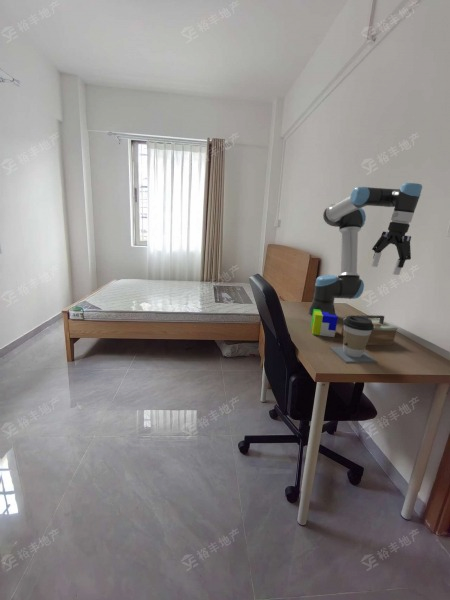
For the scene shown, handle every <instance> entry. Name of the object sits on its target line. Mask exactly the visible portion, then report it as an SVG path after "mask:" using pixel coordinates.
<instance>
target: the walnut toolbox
mask: <svg viewBox="0 0 450 600" xmlns="http://www.w3.org/2000/svg"><path fill="white" fill-rule="evenodd" d="M356 316H361V317H365V318H368V319H370V320H371V321H372V324H373V325H374V329H373V330H372V331H371V334H370V336H369V339H368V342H367V345H368V346H369V345H370V346H371V345H383V346H385V345H387V346H388V345H392V346H393V345H394V342H395V337H396V333H397V330H398V328H397V327H396V326H394V325H392V324H390V323H388V322H385V315H378V314H377V315H374V314H373V315H371V314H370V315H369V314H368V315H367V314H364V315H363V314H362V315H361V314H358V315H357V314H356ZM346 318H347V317H345V318H344V317H343V318H342V320H343V321H344V319H346ZM343 321H342V322H343ZM340 334H341V335H342V336H343V335H344V324H343V323H342V326H341V332H340ZM367 345H366V346H367Z"/></svg>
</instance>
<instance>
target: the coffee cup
mask: <svg viewBox="0 0 450 600" xmlns="http://www.w3.org/2000/svg"><path fill="white" fill-rule="evenodd" d="M345 318H346V319H344V321H342V325H343V324H344V335H343V334H342V336H343V338H342V339H343V340H342V347H343V352H344V354H346V355H348V356H350V357H356V358H359V357H361V356H362V355H363V353H364V352H365V349H366V347H367V342H368V339H369V336H370V334H371V331H372V330H373V329H374V325H373V324H372V321H371V320H370V319H371V318H365V317H361V316H357V315H351V314H350V315H347V316H346V317H345Z"/></svg>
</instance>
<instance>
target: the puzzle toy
mask: <svg viewBox="0 0 450 600" xmlns="http://www.w3.org/2000/svg"><path fill="white" fill-rule="evenodd" d="M311 316H312V317H311V323H310V330H311V333H312V335H314V336H321V337H332V338H335V337H336V336H335V335H336V332H337V325H338V320H339V319H338V315H337V314H336V311H335V312H334V311H327V310H318V309H313V315H311Z"/></svg>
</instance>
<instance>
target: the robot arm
mask: <svg viewBox="0 0 450 600" xmlns="http://www.w3.org/2000/svg"><path fill="white" fill-rule="evenodd" d="M422 189H423V185H422V184H421V183H415V182H405V183H403V184H402V185H401V186H400V188H380V187H369V186H368V187H367V186H356V187H355V188H353V190H352V191H351V193H350V196H347V197H346V198H344V199H342V200H341V201H340V202H337V203H334V204H330V205H329V206H327V207H326V208H325V209H324V211H323V213H322V214H323V215H322V216H323V220H324V222H325V223H326V224H327V225H328V226H330V227H335V228H336V227H338V228H339V230H338V231H339V232H340V233H341V250H340V252H341V255H340V257H341V258H340V259H341V261H340V273H339V275H331V274H328V275H327V274H326V275H325V274H324V275H320V276H318V277H317V278H316V280H315V284H314V293H313V299H312V302H311V304H310V306H309V308H308V312H309V313H308V314H309V315H310V314H311V316H312V315H313V309H318V310H327V311H334V312H335V313H336V309H335V299H348V300H351V299H353V300H356V299H359V298H360V297H361V296H362V294H363V291H364V290H365V289H364V288H365V284H364V281H363V279H361V278H360V276H361V275H360V274H359V273H358V242H359V239H358V238H359V237H358V236H359V232H360V231H361V230H362V227H364V226H365V222H366V220H367V219H366V218H367V217H366V215H367V214H366V212H365V210H364V209H363V208H364V207H367V206H370V207H385V208H394V209H393V212H392V215H391V218H390V222H389V225H388V227H387V230H388V231H383V230H382V233H381V234H380V237H379V238H378V240H377V241H376V243H374V245H373V246H372V249H371V250H372V251H374V254H373V257H372V258H373V259H372V263H371V267H374V268H375V267H378V265H379V262H380V260H381V257H382V256H381V255H382V251H383V250H385V248H386V247H388V246H389V245H391V244H392V245H394V246H395V247H396V250H397V254H398V259H397V260H396V263H395V266H394V268H393V272H392V275H394V276H396V275H398V276H400V274H401V270H402V268H404V266H405V262H406V261H410V260H411V258H412V255H411V254H412V253H411V250H412V249H411V239H412V236H411V235H406V234H407V233H408V231H409V228H410V223H411V222H412V220H413V217H414V213H415V210H416V208H417V205H418V202H419V200H420V197H421V195H422V194H421V193H422Z"/></svg>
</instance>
